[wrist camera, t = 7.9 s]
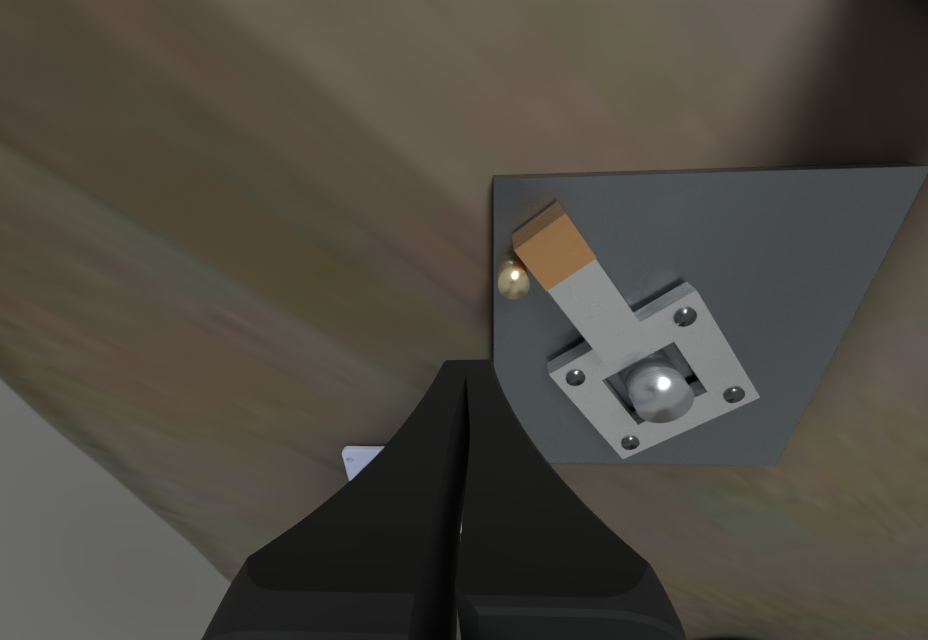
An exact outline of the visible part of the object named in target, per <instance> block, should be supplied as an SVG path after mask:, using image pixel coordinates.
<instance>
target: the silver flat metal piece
mask: <svg viewBox="0 0 928 640" xmlns="http://www.w3.org/2000/svg"><path fill="white" fill-rule="evenodd" d="M511 236H512V242H513V247H514V251H515V252H516V254H517V255H518V256H519V257H520V259H521V260H522V261H523V263H524V264H525V265H526V266H527V268H528V269H529V270H530V271H531V273H532V274H533V275H534V277H535V278H536V279H537V280H538V282H539V283H540V284H541V285H542V287H543V288H544V289H545V291H548V292H549V294H550V295H551V296H552V297H553V299H554V300H555V301H556V302H557V304H558V305H559V306H560V308H561V309H562V310H563V311H564V313H565V314H566V315H567V317H568V318H569V319H570V320H571V322H572V323H573V324H574V325H575V327H576V328H577V329H578V331H579V332H580V333H581V334H582V336H583V337H584V338H585V339H586V341H584V342H582V343H581V344H579V345H577V346H575V347H574V348H572V349H570V350H569V351H567V352H565V353H563V354H562V355H560V356H558V357H557V358H555V359H553V360H552V361H550V362H548V363H546V364H547V368H548V373H549V375H550V376H551V378H552V379H553V380H554V381H555V382H556V383H557V384H558V386H559V387H560V388H561V389H562V390H563V391H564V392H565V394H566V395H567V396H568V397H569V398H570V399H571V400H572V402H573V403H574V404H575V405H576V406H577V407H578V408H579V410H580V411H581V412H582V413H583V414H584V415H585V416H586V418H587V419H588V420H589V421H590V422H591V423H592V424H593V426H594V427H595V428H596V429H597V430H598V431H599V432H600V434H601V435H602V436H603V437H604V438H605V439H606V440H607V442H608V443H609V444H610V445H611V446H612V447H613V449H614V450H615V451H616V452H617V453H618V454H619V455H620V457H621V458H622V459H625V458H627V457H629V456H631V455H634V454H636V453H638V452H640V451H642V450H645V449H647V448H649V447H651V446H654V445H656V444H658V443H660V442H662V441H665V440H667V439H669V438H671V437H674V436H676V435H678V434H680V433H682V432H685V431H687V430H689V429H691V428H694V427H696V426H698V425H700V424H703V423H705V422H707V421H709V420H711V419H714V418H716V417H718V416H720V415H723V414H725V413H727V412H729V411H731V410H734V409H736V408H738V407H740V406H743V405H745V404H747V403H749V402H751V401H754V400H756V399H758V398H760V396H759V395H758V393H757V391H756V389H755V388H754V386H753V384H752V383H751V381H750V379H749V378H748V376H747V374H746V373H745V371H744V369H743V368H742V366H741V364H740V362H739V361H738V359H737V357H736V356H735V354H734V352H733V351H732V349H731V347H730V346H729V344H728V342H727V341H726V339H725V337H724V335H723V334H722V332H721V330H720V329H719V327H718V325H717V324H716V322H715V320H714V319H713V317H712V315H711V314H710V312H709V310H708V308H707V307H706V305H705V303H704V302H703V300H702V298H701V297H700V295H699V293H698V292H697V290H696V289H695V288H694V287H693V286H692V285H690V284H689V283H688V282H687V281H686V282H685V283H683V284H681V285H679V286H678V287H676V288H674V289H673V290H671V291H669V292H667V293H666V294H664V295H662V296H661V297H659V298H657V299H656V300H654V301H652V302H650V303H649V304H647V305H645V306H644V307H642V308H640V309H638V310H637V311H635V312H632V310H631V309H630V307H629V306H628V304H627V303H626V302H625V300H624V299H623V297H622V296H621V294H620V293H619V291H618V290H617V289H616V287H615V286H614V284H613V283H612V281H611V280H610V278H609V277H608V276H607V274H606V273H605V271H604V270H603V268H602V267H601V266H600V264H599V263H598V261H597V260H596V256H595V255H594V253H593V252H592V250H591V249H590V247H589V246H588V245H587V243H586V242H585V240H584V239H583V237H582V236H581V234H580V233H579V232H578V230H577V229H576V227H575V226H574V224H573V223H572V221H571V220H570V219H569V217H568V216H567V214H566V213H565V211H564V210H563V208H562V207H561V206H560V204H559V203H558V201H557V202H555V203H554V204H553V205H551V206H550V207H549V208H547V209H546V210H545V211H543V212H542V213H541V214H539V215H538V216H537V217H535V218H534V219H533V220H531V221H530V222H529V223H527V224H526V225H525V226H523V227H522V228H520V229H519V230H518V231H516V232H515V233H514V234H512V235H511ZM672 342H674V344H675V345H676V347H677V348H678V350H679V351H680V353H681V354H682V356H683V357H684V359H685V360H686V362H687V363H688V365H689V366H690V368H691V369H692V371H693V372H694V374H695V375H696V377H697V378H698V381H696V382H694V383H692V384H690V385H689V386H690V388H691V389H692V391H693V393H694V402H693V405H692V407H691V408H690V410H689V411H688V412H687V413H686V414H685V415H683V416H682V417H680V418H678V419H676V420H674V421H671V422H667V423H651V422H648V421H645V420H644V419H642V418H641V417H640V416H639V415H638V413H637V412H636V411H634V412H631V411H630V409H629V408H628V407H627V406H626V404H625V403H624V402H623V401H622V399H621V398H620V397H619V396H618V394H617V393H616V392H615V391H614V389H613V388H612V387H611V386H610V384H609V383H608V382H607V381H606V379H605V378H607V377H609V376H611V375H613V374H615V373H617V372H618V371H620V370H622V369H624V368H626V367H628V366H630V365H631V364H633V363H635V362H637V361H639V360H641V359H643V358H644V357H646V356H648V355H650V354H652V353H654V352H656V351H657V350H659V349H661V348H663V347H665V346H667V345H669V344H671V343H672Z"/></svg>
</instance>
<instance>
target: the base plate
mask: <svg viewBox="0 0 928 640" xmlns="http://www.w3.org/2000/svg"><path fill="white" fill-rule="evenodd" d="M927 174H928V165H921V164H914V163H881V164H848V165H816V166H784V167H751V168H719V169H686V170H654V171H621V172H589V173H557V174H524V175H493V363H494V368H495V372H496V375H497V378H498V380H499V383H500V385H501V388H502V390H503V392H504V394H505V396H506V398H507V400H508V402H509V404H510V406H511V408H512V410H513V411H514V413H515V415H516V417H517V418H518V420H519V422H520V423H521V425H522V426H523V428H524V430H525V431H526V433H527V434H528V436H529V437H530V439H531V440H532V442H533V443H534V445H535V446H536V447H537V449H538V450H539V451H540V453H541V454H542V455H543V457H544V458H545V459H546V461H547V462H548V463H619V464H691V465H763V466H776V465H777V463H778V461H779V459H780V457H781V455H782V453H783V451H784V449H785V447H786V445H787V443H788V441H789V440H790V438H791V436H792V434H793V432H794V430H795V428H796V426H797V424H798V422H799V420H800V418H801V416H802V415H803V413H804V411H805V409H806V407H807V405H808V403H809V401H810V399H811V397H812V395H813V393H814V391H815V389H816V388H817V386H818V384H819V382H820V380H821V378H822V376H823V374H824V372H825V370H826V368H827V366H828V364H829V362H830V361H831V359H832V357H833V355H834V353H835V351H836V349H837V347H838V345H839V343H840V341H841V339H842V337H843V336H844V334H845V332H846V330H847V328H848V326H849V324H850V322H851V320H852V318H853V316H854V314H855V312H856V310H857V309H858V307H859V305H860V303H861V301H862V299H863V297H864V295H865V293H866V291H867V289H868V287H869V285H870V284H871V282H872V280H873V278H874V276H875V274H876V272H877V270H878V268H879V266H880V264H881V262H882V260H883V258H884V257H885V255H886V253H887V251H888V249H889V247H890V245H891V243H892V241H893V239H894V237H895V235H896V233H897V232H898V230H899V228H900V226H901V224H902V222H903V220H904V218H905V216H906V214H907V212H908V210H909V208H910V206H911V205H912V203H913V201H914V199H915V197H916V195H917V193H918V191H919V189H920V187H921V185H922V183H923V181H924V180H925V178H926V176H927ZM557 201H558V203H559V204H560V206H561V207H562V208H563V210H564V211H565V213H566V214H567V216H568V217H569V219H570V220H571V221H572V223H573V224H574V226H575V227H576V229H577V230H578V232H579V233H580V234H581V236H582V237H583V239H584V240H585V242H586V243H587V245H588V246H589V247H590V249H591V250H592V252H593V253H594V255H595V256H596V260H597V261H598V263H599V264H600V266H601V267H602V268H603V270H604V271H605V273H606V274H607V276H608V277H609V278H610V280H611V281H612V283H613V284H614V286H615V287H616V289H617V290H618V291H619V293H620V294H621V296H622V297H623V299H624V300H625V302H626V303H627V304H628V306H629V307H630V309H631V310H632V312H635V311H637V310H638V309H640V308H642V307H644V306H645V305H647V304H649V303H650V302H652V301H654V300H656V299H657V298H659V297H661V296H662V295H664V294H666V293H667V292H669V291H671V290H673V289H674V288H676V287H678V286H679V285H681V284H683V283H685V282H686V281H687V282H688V283H689V284H690V285H692V286H693V287H694V288H695V289H696V290H697V292H698V293H699V295H700V297H701V298H702V300H703V302H704V303H705V305H706V307H707V308H708V310H709V312H710V314H711V315H712V317H713V319H714V320H715V322H716V324H717V325H718V327H719V329H720V330H721V332H722V334H723V335H724V337H725V339H726V341H727V342H728V344H729V346H730V347H731V349H732V351H733V352H734V354H735V356H736V357H737V359H738V361H739V362H740V364H741V366H742V368H743V369H744V371H745V373H746V374H747V376H748V378H749V379H750V381H751V383H752V384H753V386H754V388H755V389H756V391H757V393H758V395H759V396H760V398H758V399H756V400H754V401H751V402H749V403H747V404H745V405H743V406H740V407H738V408H736V409H734V410H731V411H729V412H727V413H725V414H723V415H720V416H718V417H716V418H714V419H711V420H709V421H707V422H705V423H703V424H700V425H698V426H696V427H694V428H691V429H689V430H687V431H685V432H682V433H680V434H678V435H676V436H674V437H671V438H669V439H667V440H665V441H662V442H660V443H658V444H656V445H654V446H651V447H649V448H647V449H645V450H642V451H640V452H638V453H636V454H634V455H631V456H629V457H627V458H625V459H622V458H621V457H620V455H619V454H618V453H617V452H616V451H615V450H614V449H613V447H612V446H611V445H610V444H609V443H608V442H607V440H606V439H605V438H604V437H603V436H602V435H601V434H600V432H599V431H598V430H597V429H596V428H595V427H594V426H593V424H592V423H591V422H590V421H589V420H588V419H587V418H586V416H585V415H584V414H583V413H582V412H581V411H580V410H579V408H578V407H577V406H576V405H575V404H574V403H573V402H572V400H571V399H570V398H569V397H568V396H567V395H566V394H565V392H564V391H563V390H562V389H561V388H560V387H559V386H558V384H557V383H556V382H555V381H554V380H553V379H552V378H551V376H550V375H549V373H548V368H547V364H546V363H548V362H550V361H552V360H553V359H555V358H557V357H558V356H560V355H562V354H563V353H565V352H567V351H569V350H570V349H572V348H574V347H575V346H577V345H579V344H581V343H582V342H584V341H586V339H585V338H584V337H583V336H582V334H581V333H580V332H579V331H578V329H577V328H576V327H575V325H574V324H573V323H572V322H571V320H570V319H569V318H568V317H567V315H566V314H565V313H564V311H563V310H562V309H561V308H560V306H559V305H558V304H557V302H556V301H555V300H554V299H553V297H552V296H551V295H550V294H549V292H548V291H545V289H544V288H543V287H542V285H541V284H540V283H539V282H538V280H537V279H536V278H535V277H534V275H533V274H532V273H531V271H530V270H529V269H528V268H527V266H526V265H525V264H524V263H523V261H522V260H521V259H520V257H519V256H518V255H517V254H516V252H515V251H514V247H513V242H512V236H511V235H512V234H514V233H515V232H516V231H518V230H519V229H520V228H522V227H523V226H525V225H526V224H527V223H529V222H530V221H531V220H533V219H534V218H535V217H537V216H538V215H539V214H541V213H542V212H543V211H545V210H546V209H547V208H549V207H550V206H551V205H553V204H554V203H555V202H557ZM605 379H606V381H607V382H608V383H609V384H610V386H611V387H612V388H613V389H614V391H615V392H616V393H617V394H618V396H619V397H620V398H621V399H622V401H623V402H624V403H625V404H626V406H627V407H628V408H629V409H630V411H631V412H634V411H636V412H637V413H638V415H639V416H640V417H641V418H642V419H644V420H645V421H648V422H651V423H667V422H671V421H674V420H676V419H678V418H680V417H682V416H683V415H685V414H686V413H687V412H688V411H689V410H690V408H691V407H692V405H693V402H694V393H693V391H692V389H691V388H690V386H689V385H690V384H692V383H694V382H696V381H698V378H697V377H696V375H695V374H694V372H693V371H692V369H691V368H690V366H689V365H688V363H687V362H686V360H685V359H684V357H683V356H682V354H681V353H680V351H679V350H678V348H677V347H676V345H675V344H674V342H672V343H671V344H669V345H667V346H665V347H663V348H661V349H659V350H657V351H656V352H654V353H652V354H650V355H648V356H646V357H644V358H643V359H641V360H639V361H637V362H635V363H633V364H631V365H630V366H628V367H626V368H624V369H622V370H620V371H618V372H617V373H615V374H613V375H611V376H609V377H607V378H605Z"/></svg>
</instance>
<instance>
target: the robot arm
mask: <svg viewBox="0 0 928 640" xmlns="http://www.w3.org/2000/svg"><path fill="white" fill-rule="evenodd" d="M342 457H343V460H344V464H345V468H346V471H347V475H348V479H349V482H348V483H347V484H346V485H345V486H344V487H343V488H342V489H340V490H339V491H338V492H337V493H336V494H334V495H333V496H332V497H331V498H329V499H328V500H327V501H326V502H324V503H323V504H322V505H321V506H320V507H318V508H317V509H316V510H315V511H313V512H312V513H311V514H310V515H308V516H307V517H306V518H304V519H303V520H302V521H300V522H299V523H298V524H296V525H295V526H293V527H292V528H290V529H289V530H287V531H286V532H285V533H283V534H282V535H280V536H279V537H277V538H276V539H274V540H273V541H271V542H270V543H268V544H267V545H266V546H264V547H263V548H261V549H260V550H258V551H257V552H255V553H254V554H252V555H250V556H249V557H248V558H247V559H246V561H245V563H244V564H243V566H242V568H241V569H240V571H239V572H238V574H237V575H236V577H235V578H234V580H233V581H232V583H231V585H230V587H229V589H228V590H227V592H226V594H225V596H224V598H223V600H222V601H221V603H220V605H219V607H218V609H217V611H216V613H215V615H214V617H213V619H212V620H211V622H210V624H209V626H208V628H207V630H206V632H205V634H204V636H203V638H202V640H456V632H457V609H458V617H459V625H460V632H461V640H686V636H685V633H684V630H683V628H682V625H681V622H680V620H679V618H678V616H677V614H676V612H675V610H674V608H673V606H672V603H671V602H670V600H669V598H668V596H667V594H666V592H665V590H664V588H663V586H662V584H661V582H660V581H659V579H658V577H657V575H656V574H655V572H654V570H653V568H652V567H651V565H650V564H649V563H648V562H647V561H646V560H645V559H644V558H642V557H641V556H640V555H639V554H638V553H637V552H635V551H634V550H633V549H632V548H631V547H630V546H628V545H627V544H626V543H625V542H624V541H623V540H622V539H621V538H619V537H618V536H617V535H616V534H615V533H614V532H613V531H612V530H611V529H610V528H608V527H607V526H606V525H605V524H604V523H603V522H602V521H601V520H600V519H599V518H598V517H597V516H596V515H595V514H594V513H593V512H592V511H591V510H590V509H589V508H588V507H587V506H586V505H585V504H584V503H583V502H582V501H581V500H580V498H579V497H578V496H577V495H576V494H575V493H574V492H573V491H572V490H571V489H570V488H569V486H568V485H567V484H566V483H565V482H564V481H563V480H562V479H561V478H560V477H559V475H558V474H557V473H556V472H555V471H554V469H553V468H552V467H551V466H550V464H549V463H548V462H547V461H546V459H545V458H544V457H543V455H542V454H541V453H540V451H539V450H538V449H537V447H536V446H535V445H534V443H533V442H532V440H531V439H530V437H529V436H528V434H527V433H526V431H525V430H524V428H523V426H522V425H521V423H520V422H519V420H518V418H517V417H516V415H515V413H514V411H513V410H512V408H511V406H510V404H509V402H508V400H507V398H506V396H505V394H504V392H503V390H502V388H501V385H500V383H499V380H498V378H497V375H496V372H495V368H494V363H493V362H492V361H491V360H447V361H445V362H444V363H443V365H442V367H441V369H440V371H439V373H438V374H437V376H436V378H435V380H434V381H433V383H432V385H431V386H430V388H429V389H428V391H427V392H426V394H425V395H424V397H423V398H422V400H421V401H420V403H419V404H418V406H417V407H416V409H415V410H414V411H413V413H412V414H411V415H410V417H409V418H408V419H407V420H406V422H405V423H404V424H403V425H402V427H401V428H400V429H399V431H398V432H397V433H396V434H395V435H394V437H393V438H392V439H391V440H390V441H389V442H388V443H387V445H386V446H346V447H344V449H343V451H342ZM465 490H466V493H465ZM464 498H465V503H464ZM463 506H464V513H463ZM462 514H463V523H462ZM460 534H461V540H460ZM459 547H460V549H459Z"/></svg>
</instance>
